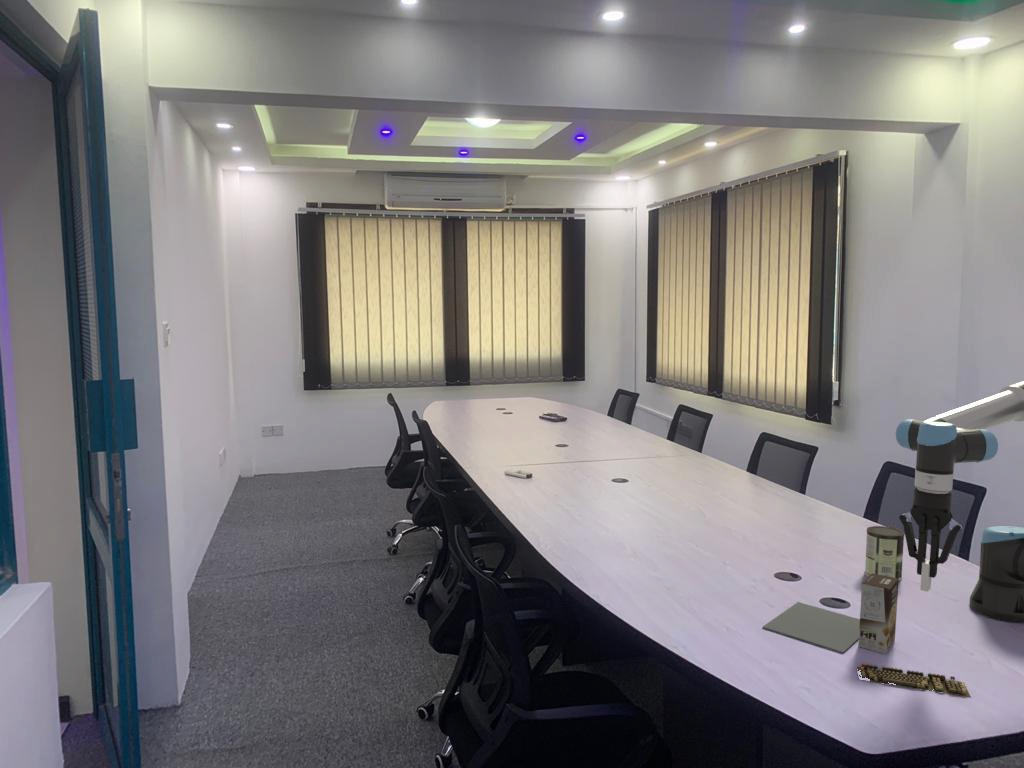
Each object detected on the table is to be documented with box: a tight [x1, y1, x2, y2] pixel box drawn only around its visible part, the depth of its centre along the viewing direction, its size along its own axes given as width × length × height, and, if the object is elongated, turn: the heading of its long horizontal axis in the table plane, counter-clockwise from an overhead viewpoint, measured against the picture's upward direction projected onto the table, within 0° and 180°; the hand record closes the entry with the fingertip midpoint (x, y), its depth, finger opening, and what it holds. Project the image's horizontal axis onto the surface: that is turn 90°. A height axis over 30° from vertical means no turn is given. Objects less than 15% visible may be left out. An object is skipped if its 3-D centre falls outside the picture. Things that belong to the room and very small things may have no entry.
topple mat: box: [762, 601, 860, 654], centre depth 189 cm, size 20×22×1 cm
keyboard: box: [856, 663, 972, 698], centre depth 162 cm, size 22×9×2 cm, turn 70°
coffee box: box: [857, 573, 900, 655], centre depth 179 cm, size 9×6×16 cm
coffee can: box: [864, 525, 905, 581], centre depth 224 cm, size 10×10×14 cm
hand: (925, 589), depth 171 cm, fingers closed
